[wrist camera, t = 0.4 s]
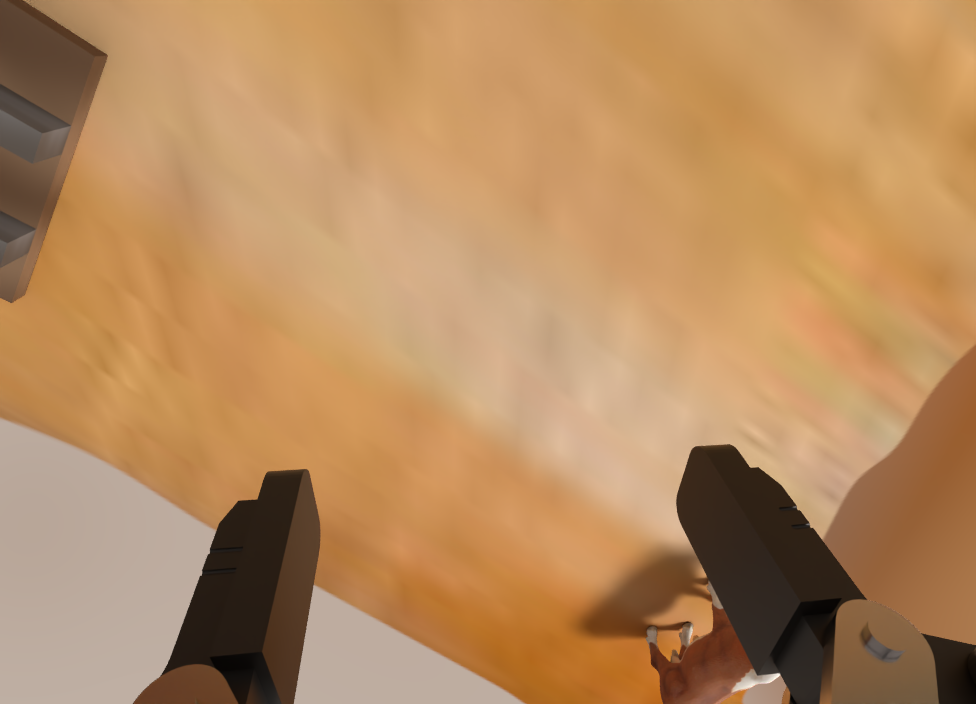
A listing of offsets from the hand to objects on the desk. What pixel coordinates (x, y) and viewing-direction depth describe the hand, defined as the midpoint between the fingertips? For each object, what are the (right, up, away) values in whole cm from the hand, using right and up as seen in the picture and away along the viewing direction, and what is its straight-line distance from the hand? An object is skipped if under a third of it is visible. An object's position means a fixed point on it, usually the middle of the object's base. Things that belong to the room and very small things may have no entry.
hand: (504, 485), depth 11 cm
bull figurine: (+18, -19, +35) cm, 44 cm away
